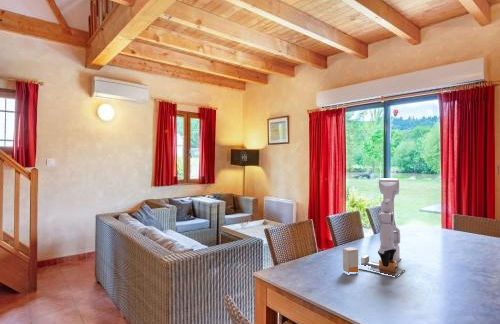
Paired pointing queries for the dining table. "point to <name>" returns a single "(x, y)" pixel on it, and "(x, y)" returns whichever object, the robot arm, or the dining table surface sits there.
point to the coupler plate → (376, 267)
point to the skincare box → (350, 259)
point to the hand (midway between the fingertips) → (387, 264)
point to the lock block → (391, 265)
